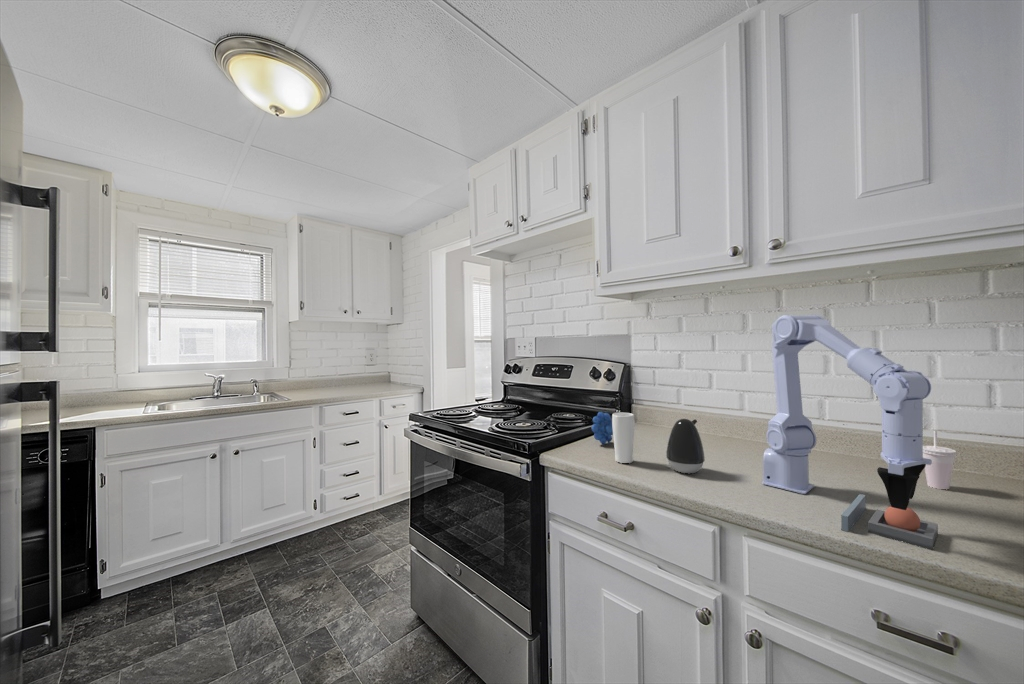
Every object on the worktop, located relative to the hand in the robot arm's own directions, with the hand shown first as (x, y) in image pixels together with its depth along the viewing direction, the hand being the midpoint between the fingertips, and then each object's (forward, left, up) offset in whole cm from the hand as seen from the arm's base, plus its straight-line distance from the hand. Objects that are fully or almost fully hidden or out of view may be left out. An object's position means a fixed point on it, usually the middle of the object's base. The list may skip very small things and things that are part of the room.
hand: (902, 502), depth 78 cm
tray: (0, 0, -6) cm, 6 cm away
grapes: (-79, +10, -6) cm, 80 cm away
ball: (0, -1, -3) cm, 3 cm away
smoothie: (+2, +38, -6) cm, 39 cm away
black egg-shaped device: (-46, +4, -6) cm, 47 cm away
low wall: (-7, +1, -6) cm, 10 cm away
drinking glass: (-63, -2, -6) cm, 63 cm away
